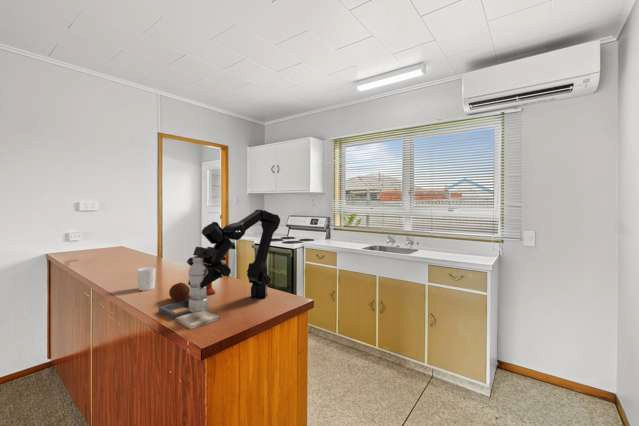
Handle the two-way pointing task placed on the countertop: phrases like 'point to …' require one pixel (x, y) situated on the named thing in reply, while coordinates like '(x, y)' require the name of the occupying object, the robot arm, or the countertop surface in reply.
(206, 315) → the board
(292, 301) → the countertop surface
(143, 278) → the white cup
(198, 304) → the plastic bottle
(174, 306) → the collar
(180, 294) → the potato
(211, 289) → the toy drill
